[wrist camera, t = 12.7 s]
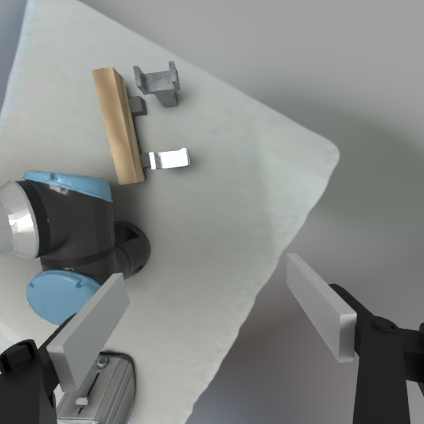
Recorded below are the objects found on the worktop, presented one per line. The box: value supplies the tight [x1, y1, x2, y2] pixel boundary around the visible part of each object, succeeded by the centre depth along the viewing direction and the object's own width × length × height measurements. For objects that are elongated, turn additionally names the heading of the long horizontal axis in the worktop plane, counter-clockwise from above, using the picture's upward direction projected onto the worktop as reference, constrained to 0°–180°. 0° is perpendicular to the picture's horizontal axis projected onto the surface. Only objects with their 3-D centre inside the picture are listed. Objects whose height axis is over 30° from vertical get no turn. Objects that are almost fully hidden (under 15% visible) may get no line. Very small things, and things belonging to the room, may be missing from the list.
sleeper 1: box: [128, 96, 147, 116], centre depth 45 cm, size 8×3×3 cm, turn 97°
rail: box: [92, 67, 145, 185], centre depth 42 cm, size 4×22×5 cm, turn 8°
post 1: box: [133, 61, 180, 107], centre depth 40 cm, size 7×3×13 cm, turn 97°
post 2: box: [149, 148, 191, 169], centre depth 43 cm, size 7×3×13 cm, turn 97°
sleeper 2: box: [140, 153, 151, 168], centre depth 48 cm, size 8×3×3 cm, turn 97°
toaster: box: [56, 354, 134, 424], centre depth 55 cm, size 17×30×19 cm, turn 174°
